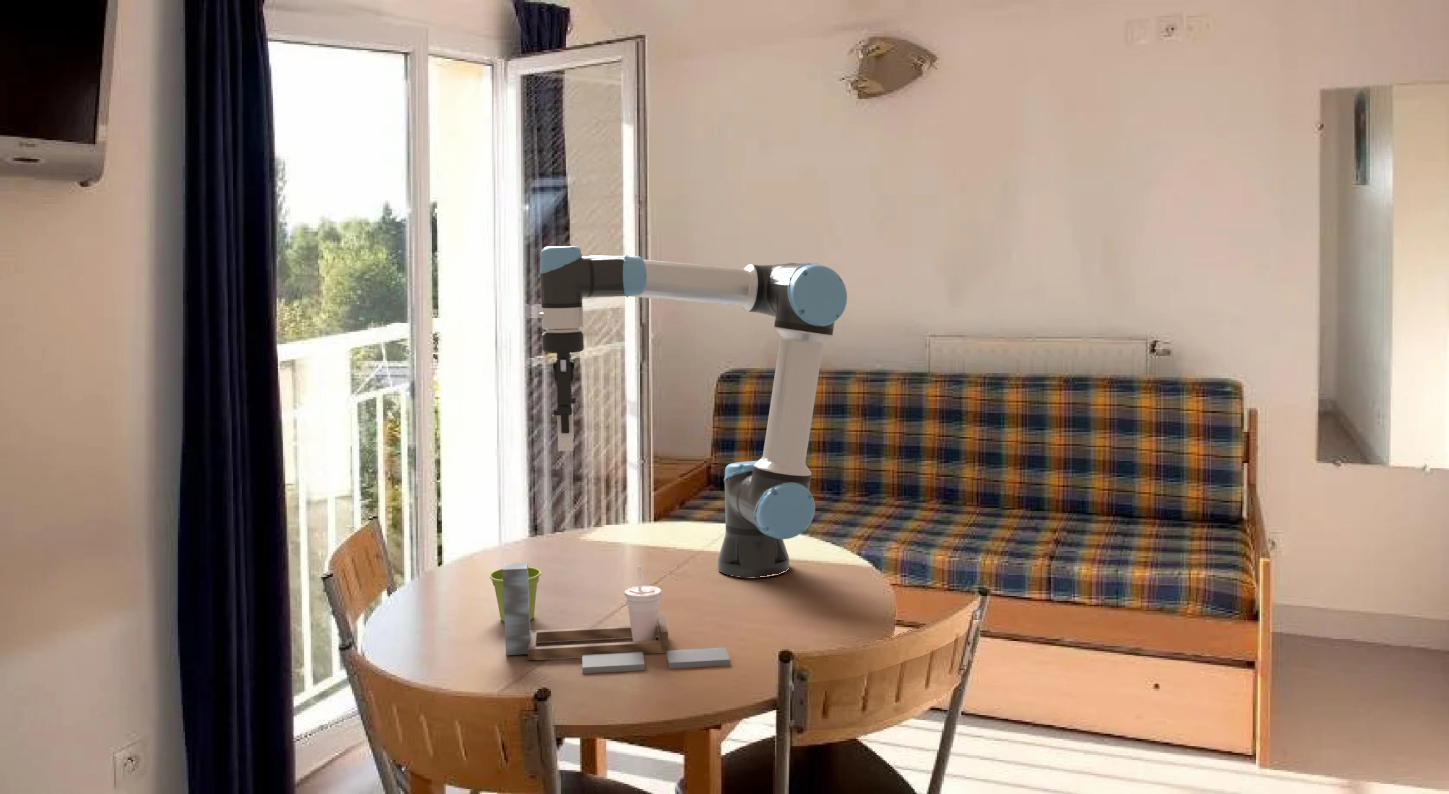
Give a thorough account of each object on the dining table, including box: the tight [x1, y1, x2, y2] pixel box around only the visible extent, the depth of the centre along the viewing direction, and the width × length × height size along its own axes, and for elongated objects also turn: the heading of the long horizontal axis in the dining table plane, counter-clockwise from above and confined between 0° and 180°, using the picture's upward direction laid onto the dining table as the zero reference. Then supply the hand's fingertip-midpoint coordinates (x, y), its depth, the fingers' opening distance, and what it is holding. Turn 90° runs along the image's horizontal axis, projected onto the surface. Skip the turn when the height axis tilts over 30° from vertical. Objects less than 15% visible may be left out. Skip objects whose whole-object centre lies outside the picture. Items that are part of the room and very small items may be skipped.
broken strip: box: [581, 647, 731, 674], centre depth 202 cm, size 24×6×1 cm, turn 97°
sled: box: [502, 561, 669, 661], centre depth 209 cm, size 27×10×15 cm, turn 97°
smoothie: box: [624, 565, 663, 642], centre depth 210 cm, size 6×6×14 cm
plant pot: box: [488, 566, 542, 623], centre depth 226 cm, size 9×9×9 cm
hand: (566, 444), depth 228 cm, fingers open, 13 cm apart
